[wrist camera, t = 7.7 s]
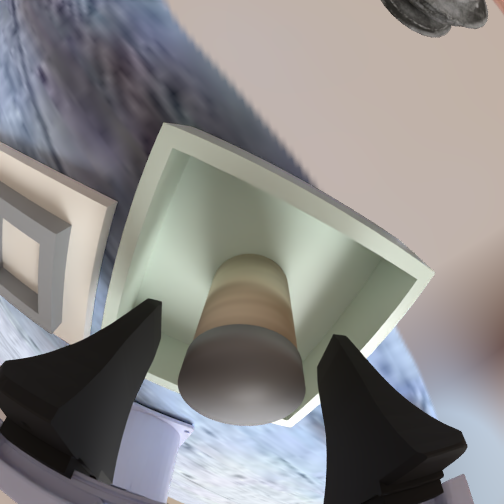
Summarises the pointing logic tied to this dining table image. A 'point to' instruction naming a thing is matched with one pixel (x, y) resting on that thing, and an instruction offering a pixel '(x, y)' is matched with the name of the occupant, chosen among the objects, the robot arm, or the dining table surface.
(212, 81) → the dining table surface
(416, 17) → the salt shaker
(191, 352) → the strut
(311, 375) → the bin
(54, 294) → the square socket plate
